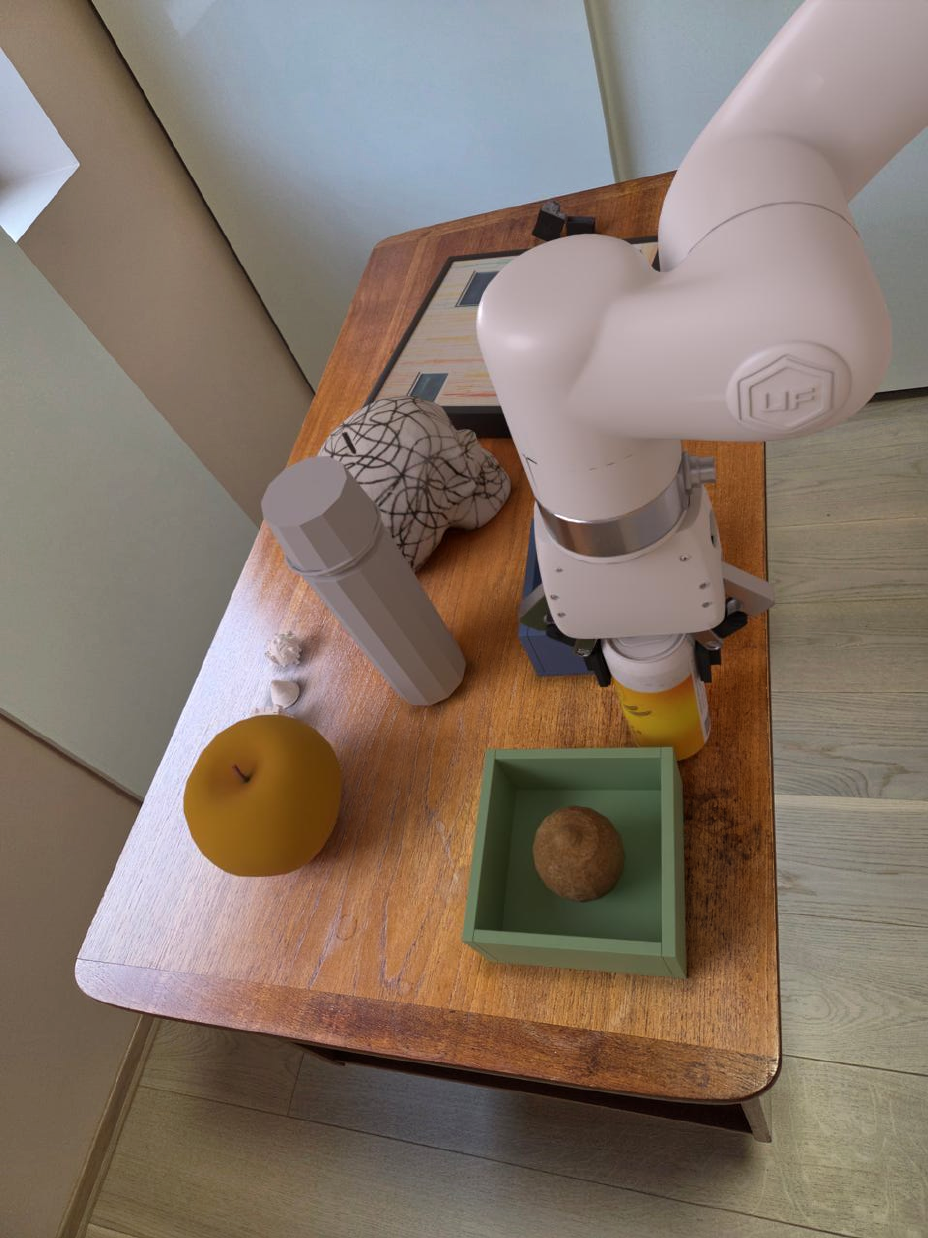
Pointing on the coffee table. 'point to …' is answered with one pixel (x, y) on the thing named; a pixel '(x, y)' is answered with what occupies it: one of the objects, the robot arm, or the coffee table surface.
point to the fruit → (578, 854)
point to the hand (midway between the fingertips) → (654, 665)
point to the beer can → (660, 690)
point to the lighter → (560, 223)
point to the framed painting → (459, 344)
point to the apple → (263, 796)
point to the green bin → (563, 929)
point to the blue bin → (540, 648)
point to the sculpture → (419, 472)
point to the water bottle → (362, 577)
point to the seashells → (281, 691)
